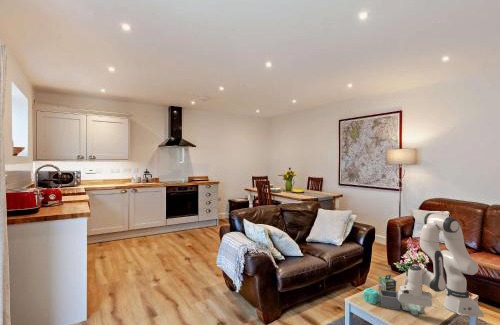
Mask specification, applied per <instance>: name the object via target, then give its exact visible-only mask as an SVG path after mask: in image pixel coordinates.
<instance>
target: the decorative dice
mask: <svg viewBox="0 0 500 325" xmlns="http://www.w3.org/2000/svg"><path fill="white" fill-rule="evenodd" d="M362 297H363V299H364V301H365V302H366V303H367V304H371V305H376V304H377V303H378V302H379V291H377V290H376V289H374V288H372V287H367V288H365V289H364V291H363V293H362Z"/></svg>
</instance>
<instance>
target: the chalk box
mask: <svg viewBox="0 0 500 325" xmlns="http://www.w3.org/2000/svg"><path fill="white" fill-rule="evenodd" d="M391 276H392V275H391V274H387V275H384V276H378V290H379V289H380V290H387V291H394V292H397V281H396V280H395V279H394V278H392V277H391Z"/></svg>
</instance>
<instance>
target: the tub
mask: <svg viewBox="0 0 500 325" xmlns="http://www.w3.org/2000/svg"><path fill="white" fill-rule="evenodd" d="M378 294H379V300H378V302H379V306H380V307H381V308H385V309H390V310H391V309H392V310H397V311H400V310H401V305H400V302H399V301H398V291H396V292H394V291H387V290H380V289H379V288H378Z"/></svg>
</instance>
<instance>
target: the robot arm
mask: <svg viewBox="0 0 500 325" xmlns="http://www.w3.org/2000/svg"><path fill="white" fill-rule="evenodd" d="M423 219H424V220H423V223H424V224H423V226H422V227H421V230H420V235H419V248H420V249H421V250H422V251H423V252H424V253H425V254H426V255H427V256H428V257H429V258H430V259H431V261H432V264H433V272H431V271H429V270H427V269H425V268H422V267H421V266H419V265H410V266H409V267H408V270H407V284H405V285H400V286H399V290H398V291H397V293H398V301H399V302H401V303H404V305H405V304H406V303H408V304H415V305H420V306H421V308H420V311H421V312H423V313H424V310H425V309H426V307H428V308H429V307H430V308H431V307H432V306H433V303H432V299H433V293H431V292H430V291H423V285H424V286H426V287H427V288H428V289H429V288H430V289H431V290H432V291H434V292H435V293H441V292H443V291H445V298H444V301H443V303H442V305H443V307H444V308H445V309H447V310H449V311H450V312H453V313H455V314H458V315H459V316H462V317H480V318H484V316H485V313H484V312H483V310H481V308H480V306H479V304H478V302H477V301H476V300H475V299H473V298H472V297H473V294H472V293H471V292H470V291H469V290H467V278H466V277H465V276H464V274H465V275H471V276H473V275H476V274H477V273H478V271H479V268H480V267H479V264H478V262H476V261H475V259H473V257H472V256H471V255H470V254H469V252H468V249H467V248H466V244H465V240H464V233H463V229H462V227H461V224H460V222H459V221H458V220H457V218H455V217H452V216H448V215H445V214H440V213H435V212H428V213H426V215H425V216H424V217H423ZM441 231H442V234H443V240H444V245H445V247H446V249H444V250H441V248H440V233H441ZM447 249H448V250H447ZM445 274H446V277H445ZM405 309H408V307H407V306H406V305H405Z"/></svg>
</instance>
